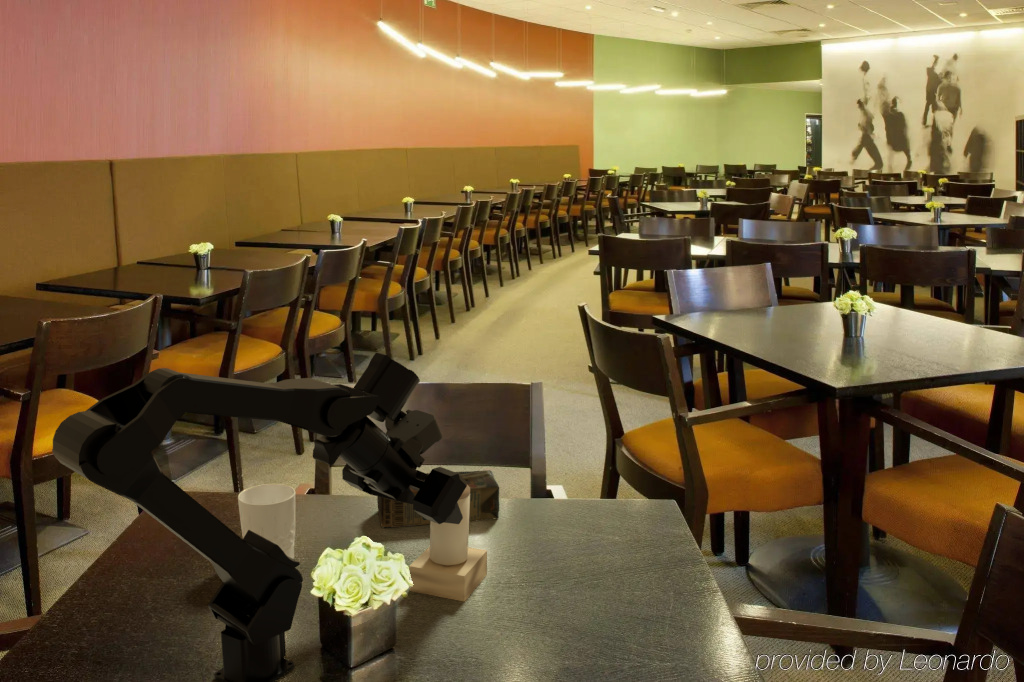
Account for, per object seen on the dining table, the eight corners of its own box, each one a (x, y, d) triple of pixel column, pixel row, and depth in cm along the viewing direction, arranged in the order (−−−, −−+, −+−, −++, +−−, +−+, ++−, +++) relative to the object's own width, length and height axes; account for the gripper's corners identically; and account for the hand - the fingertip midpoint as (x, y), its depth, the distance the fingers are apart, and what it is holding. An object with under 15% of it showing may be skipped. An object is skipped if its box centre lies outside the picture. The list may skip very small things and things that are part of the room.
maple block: (464, 604, 118) (464, 576, 117) (409, 593, 121) (409, 566, 120) (487, 576, 126) (487, 550, 125) (434, 567, 128) (434, 541, 127)
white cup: (283, 574, 125) (280, 507, 123) (231, 568, 127) (227, 502, 125) (307, 549, 133) (304, 485, 131) (257, 544, 134) (254, 481, 132)
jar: (445, 570, 119) (447, 498, 116) (421, 556, 122) (423, 486, 120) (475, 560, 122) (478, 490, 120) (451, 546, 126) (453, 478, 124)
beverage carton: (501, 521, 144) (501, 482, 142) (380, 531, 140) (378, 491, 138) (491, 502, 151) (491, 465, 150) (376, 511, 147) (375, 473, 146)
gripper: (455, 411, 106) (517, 477, 116) (358, 382, 118) (422, 443, 129) (404, 492, 102) (473, 552, 112) (309, 453, 114) (379, 510, 125)
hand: (436, 510), depth 119 cm, fingers open, 9 cm apart
